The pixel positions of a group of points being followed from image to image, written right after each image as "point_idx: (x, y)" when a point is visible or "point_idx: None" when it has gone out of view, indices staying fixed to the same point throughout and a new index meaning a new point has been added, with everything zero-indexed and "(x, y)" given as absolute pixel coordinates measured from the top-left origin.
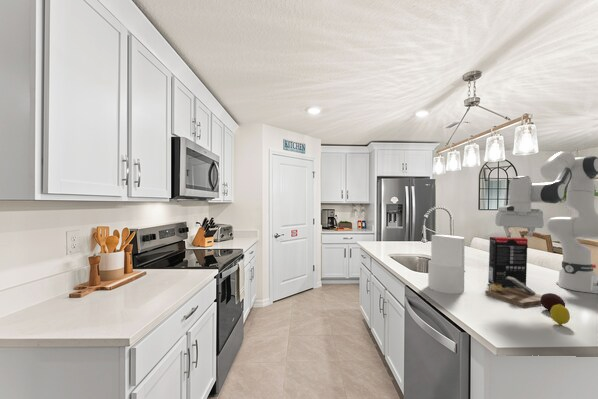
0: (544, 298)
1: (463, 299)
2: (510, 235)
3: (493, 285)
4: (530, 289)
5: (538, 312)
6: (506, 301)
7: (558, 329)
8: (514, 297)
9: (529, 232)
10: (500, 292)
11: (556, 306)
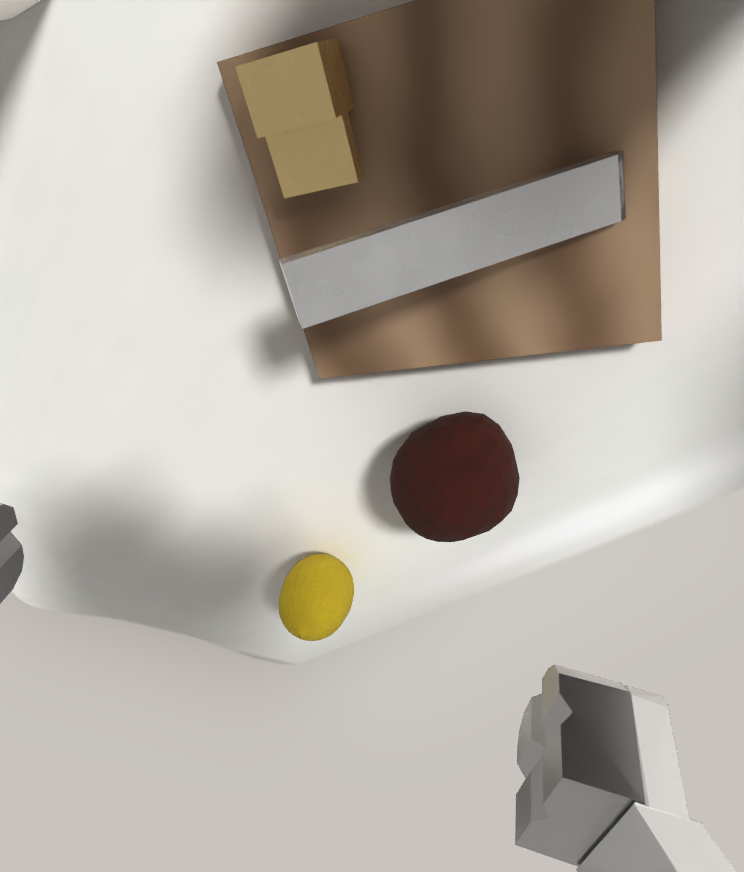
0: (393, 486)
1: (15, 182)
2: (3, 576)
3: (251, 107)
4: (555, 242)
5: (361, 441)
6: None
7: None
8: None
9: (641, 853)
10: None
11: (285, 623)
